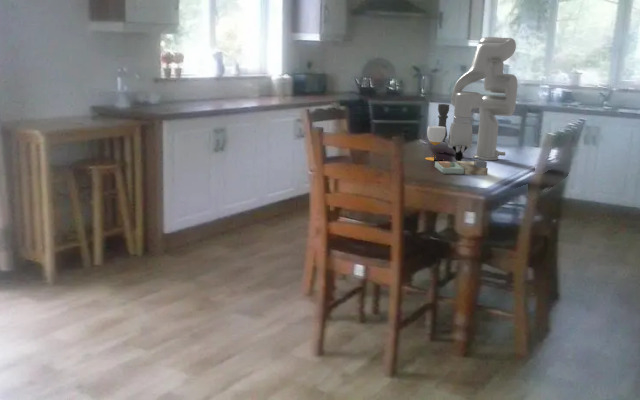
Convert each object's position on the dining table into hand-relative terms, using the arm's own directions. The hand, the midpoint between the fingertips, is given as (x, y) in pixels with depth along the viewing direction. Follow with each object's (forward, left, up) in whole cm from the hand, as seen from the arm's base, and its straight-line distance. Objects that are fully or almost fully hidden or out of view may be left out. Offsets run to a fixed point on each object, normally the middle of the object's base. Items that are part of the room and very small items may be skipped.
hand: (458, 160), depth 309 cm
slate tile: (-8, +9, -1) cm, 12 cm away
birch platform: (-5, +4, -4) cm, 8 cm away
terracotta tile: (+6, 0, -1) cm, 6 cm away
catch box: (+5, +4, -4) cm, 8 cm away
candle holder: (-2, -47, -4) cm, 47 cm away
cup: (+6, -24, -4) cm, 25 cm away
